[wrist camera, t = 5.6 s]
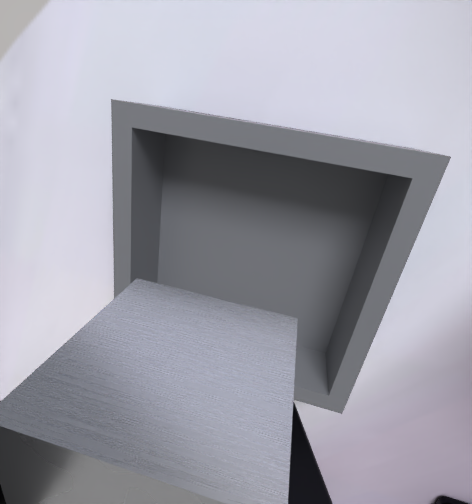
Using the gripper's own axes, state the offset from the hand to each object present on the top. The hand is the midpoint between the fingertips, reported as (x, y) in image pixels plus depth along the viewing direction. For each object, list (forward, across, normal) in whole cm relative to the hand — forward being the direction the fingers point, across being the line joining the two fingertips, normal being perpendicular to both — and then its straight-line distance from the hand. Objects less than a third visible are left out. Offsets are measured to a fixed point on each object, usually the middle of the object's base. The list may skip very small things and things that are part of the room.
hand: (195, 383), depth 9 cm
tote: (+11, 0, 0) cm, 11 cm away
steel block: (+1, 0, 0) cm, 1 cm away
